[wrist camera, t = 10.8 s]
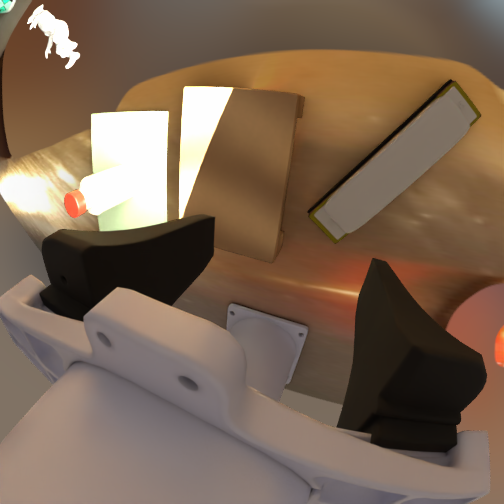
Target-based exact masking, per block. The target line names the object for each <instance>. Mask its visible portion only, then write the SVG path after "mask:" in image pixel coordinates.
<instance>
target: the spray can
mask: <svg viewBox="0 0 504 504" xmlns="http://www.w3.org/2000/svg"><path fill="white" fill-rule="evenodd" d="M15 2H16V0H0V13H8V12H10V11H11V9H12V8H13V6H14V4H15Z"/></svg>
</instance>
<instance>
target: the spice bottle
mask: <svg viewBox="0 0 504 504" xmlns="http://www.w3.org/2000/svg"><path fill="white" fill-rule="evenodd" d="M136 190H137V181H136V177H135V174H134V173H133V171H132V170H131V169H130V168H129V167H128V166H126V165H122V164H121V165H117V166H114V167H112V168H109V169H106V170H103V171H100V172H98V173H95V174H92V175H90V176H87V177H85V178H84V179H83V180H82V182H81V184H80V190H74V191H71V192H69V193H67V194H66V195H65V198H64V204H65V208H66V210H67V212H68V214H69V215H70V216H71V217H73V218H76V217H78V216H80V215H82V214H84V213H85V212H86V210H87V211H88V212H89V213H91V214H93V215H99V214H101V213H103V212H105V211H107V210H109V209H111V208H113V207H115V206H117V205H119V204H121V203H123V202H125V201H127V200H129V199H131V198H132V197H133V196H134V195H135V193H136Z"/></svg>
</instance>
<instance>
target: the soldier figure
mask: <svg viewBox="0 0 504 504" xmlns="http://www.w3.org/2000/svg"><path fill="white" fill-rule="evenodd" d="M30 22H32V24H31V26H30V29H31V28H32V26H34V28H35V26H36V23H37V22H38V26H39V27H40V29H41V30H42V31H43V32H44V33H45V35H46V36H49V40H48V45H47V49H46V52H45V56H46V58H48V57H47V56H48V53H50V54H51V51H50V48H51V47H52V44H53V42H55V43H56V53H57V54H59V55H60V56H61V57H62V58H64V57H69V58H70V61H69V63H68V64H67V65H66V69H67V68H70V67H71V66H72V65H73V64H74V63H75V61H76V59H78V58H79V56H80V54H79V53H77V52H76V53H75V52H74V51H72V50H73V49H74V48H76V46H77V43H75V42H71V41H70V40H69V39H68V35H69V31H68V27H67V26H68V25H67V24H66V22H64V21H62V20H56V19H55V17H54V15H51V14H50V13H49V12H48V11H45V10H43V5H41V6H40V7H38V8H37V9H36V10H35V12H34V13H33V14H32V15H31V17H30V18H29V20H28V23H30ZM65 47H66V48H65Z"/></svg>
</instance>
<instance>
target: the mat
mask: <svg viewBox="0 0 504 504" xmlns="http://www.w3.org/2000/svg"><path fill="white" fill-rule="evenodd" d="M167 129H168V111H131V112H111V113H96V114H91V141H92V164H93V174H95V173H98V172H100V171H103V170H106V169H109V168H112V167H114V166H117V165H121V164H122V165H126V166H128V167H129V168H130V169H131V170H132V171H133V173H134V174H135V177H136V181H137V190H136V193H135V195H134V196H133V197H132V198H131V199H129V200H127V201H125V202H123V203H121V204H119V205H117V206H115V207H113V208H111V209H109V210H107V211H105V212H103V213H101V214H99V215H97V216H98V223H99V230H100V231H114V230H127V229H134V228H141V227H146V226H151V225H155V224H160V223H164V222H167V193H166V168H167Z"/></svg>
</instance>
